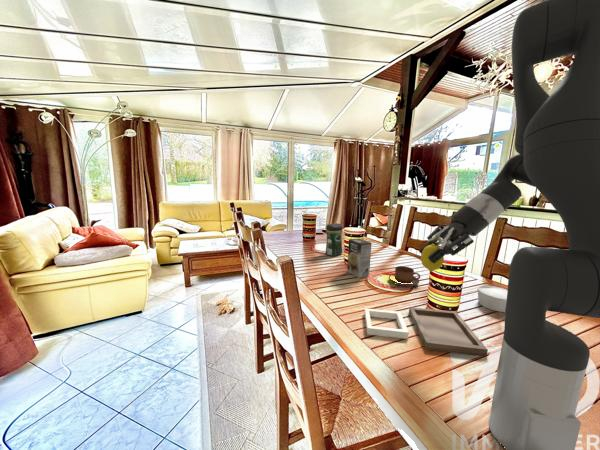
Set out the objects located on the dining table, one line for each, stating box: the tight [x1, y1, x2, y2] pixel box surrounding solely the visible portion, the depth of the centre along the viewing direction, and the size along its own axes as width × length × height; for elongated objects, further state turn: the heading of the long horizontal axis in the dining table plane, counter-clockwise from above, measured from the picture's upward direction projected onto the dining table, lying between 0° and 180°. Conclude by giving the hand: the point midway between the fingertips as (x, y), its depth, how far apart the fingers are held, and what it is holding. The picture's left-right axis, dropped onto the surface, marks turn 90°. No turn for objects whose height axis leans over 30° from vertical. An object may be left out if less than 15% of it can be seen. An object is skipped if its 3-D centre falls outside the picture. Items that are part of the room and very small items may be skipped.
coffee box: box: [347, 237, 372, 279], centre depth 112 cm, size 9×6×16 cm
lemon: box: [420, 244, 445, 272], centre depth 67 cm, size 6×6×8 cm
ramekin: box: [476, 285, 508, 313], centre depth 84 cm, size 11×11×5 cm
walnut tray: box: [408, 306, 489, 357], centre depth 70 cm, size 18×14×2 cm
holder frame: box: [364, 307, 410, 340], centre depth 73 cm, size 11×11×2 cm
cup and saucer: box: [388, 265, 421, 287], centre depth 104 cm, size 12×12×6 cm
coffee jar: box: [325, 222, 343, 257], centre depth 142 cm, size 10×8×19 cm
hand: (425, 256), depth 67 cm, fingers closed on lemon, 5 cm apart
